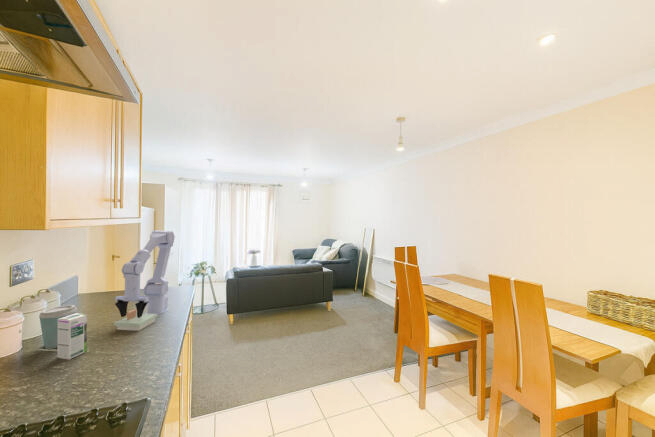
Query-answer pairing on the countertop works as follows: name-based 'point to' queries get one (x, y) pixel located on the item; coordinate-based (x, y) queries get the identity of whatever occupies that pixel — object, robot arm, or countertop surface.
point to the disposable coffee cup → (53, 323)
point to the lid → (135, 319)
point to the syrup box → (72, 335)
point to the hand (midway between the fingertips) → (131, 316)
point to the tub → (135, 327)
